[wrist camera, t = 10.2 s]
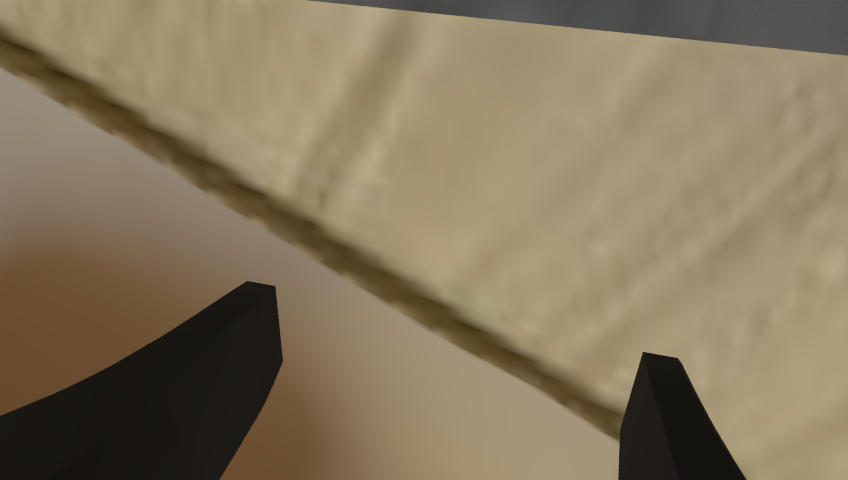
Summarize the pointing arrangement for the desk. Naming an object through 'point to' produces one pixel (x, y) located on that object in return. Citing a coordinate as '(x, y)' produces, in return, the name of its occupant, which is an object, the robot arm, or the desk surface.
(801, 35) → the keyhole plate
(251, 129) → the desk surface
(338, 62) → the desk surface
